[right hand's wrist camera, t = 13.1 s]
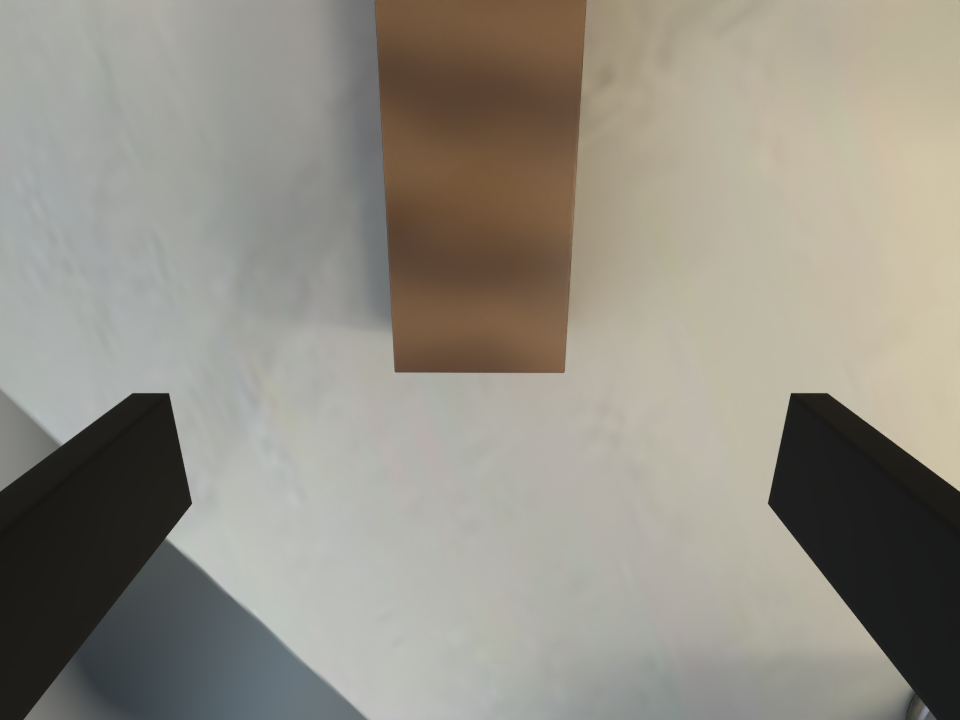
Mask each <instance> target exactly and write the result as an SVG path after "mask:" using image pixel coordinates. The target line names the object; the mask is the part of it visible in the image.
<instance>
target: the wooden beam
mask: <svg viewBox="0 0 960 720" xmlns="http://www.w3.org/2000/svg"><path fill="white" fill-rule="evenodd" d="M375 14H376V33H377V52H378V70H379V89H380V107H381V126H382V144H383V163H384V182H385V200H386V219H387V237H388V256H389V274H390V293H391V312H392V330H393V349H394V367H395V372H452V373H564V372H565V356H566V339H567V322H568V305H569V288H570V271H571V254H572V237H573V220H574V203H575V186H576V169H577V152H578V135H579V118H580V101H581V84H582V67H583V50H584V33H585V16H586V0H375Z"/></svg>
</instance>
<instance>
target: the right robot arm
mask: <svg viewBox="0 0 960 720" xmlns="http://www.w3.org/2000/svg"><path fill="white" fill-rule="evenodd" d="M191 504H192V501H191V496H190V492H189V487H188V482H187V477H186V472H185V468H184V463H183V458H182V453H181V449H180V444H179V439H178V434H177V429H176V425H175V420H174V415H173V410H172V406H171V401H170V396H169V393H132V394H131V395H130V396H128V397H127V398H126V399H124V400H123V401H122V402H120V403H119V404H118V405H116V406H115V407H114V408H112V409H111V410H109V411H108V412H107V413H105V414H104V415H103V416H101V417H100V418H99V419H97V420H96V421H95V422H93V423H92V424H91V425H89V426H88V427H87V428H85V429H84V430H83V431H81V432H80V433H79V434H77V435H76V436H75V437H73V438H72V439H70V440H69V441H68V442H66V443H65V444H64V445H62V446H61V447H60V448H58V449H57V450H56V451H54V452H53V453H52V454H50V455H49V456H48V457H46V458H45V459H44V460H42V461H41V462H40V463H38V464H37V465H36V466H34V467H33V468H31V469H30V470H29V471H27V472H26V473H25V474H23V475H22V476H21V477H19V478H18V479H17V480H15V481H14V482H13V483H11V484H10V485H9V486H7V487H6V488H5V489H3V490H2V491H1V492H0V720H24V718H25V717H26V716H27V714H28V713H29V712H30V711H31V709H32V708H33V707H34V705H35V704H36V703H37V702H38V700H39V699H40V698H41V696H42V695H43V694H44V693H45V691H46V690H47V689H48V688H49V686H50V685H51V684H52V682H53V681H54V680H55V679H56V677H57V676H58V675H59V673H60V672H61V671H62V670H63V668H64V667H65V666H66V664H67V663H68V662H69V661H70V659H71V658H72V657H73V655H74V654H75V653H76V652H77V650H78V649H79V648H80V647H81V645H82V644H83V643H84V641H85V640H86V639H87V637H88V636H89V635H90V634H91V632H92V631H93V630H94V629H95V627H96V626H97V625H98V623H99V622H100V621H101V620H102V618H103V617H104V616H105V615H106V613H107V612H108V611H109V609H110V608H111V607H112V606H113V604H114V603H115V602H116V600H117V599H118V598H119V597H120V595H121V594H122V593H123V591H124V590H125V589H126V588H127V586H128V585H129V584H130V582H131V581H132V580H133V579H134V577H135V576H136V575H137V574H138V572H139V571H140V570H141V568H142V567H143V566H144V565H145V563H146V562H147V561H148V559H149V558H150V557H151V556H152V554H153V553H154V552H155V550H156V549H157V548H158V547H159V545H160V544H161V543H162V542H163V540H164V539H165V538H166V536H167V535H168V534H169V533H170V531H171V530H172V529H173V527H174V526H175V525H176V524H177V522H178V521H179V520H180V519H181V517H182V516H183V515H184V513H185V512H186V511H187V510H188V508H189V507H190V506H191ZM768 504H769V506H770V507H771V508H772V510H773V511H774V512H775V513H776V515H777V516H778V517H779V519H780V520H781V521H782V522H783V524H784V525H785V526H786V527H787V529H788V530H789V531H790V533H791V534H792V535H793V536H794V538H795V539H796V540H797V542H798V543H799V544H800V545H801V547H802V548H803V549H804V551H805V552H806V553H807V554H808V556H809V557H810V558H811V559H812V561H813V562H814V563H815V565H816V566H817V567H818V568H819V570H820V571H821V572H822V574H823V575H824V576H825V577H826V579H827V580H828V581H829V583H830V584H831V585H832V586H833V588H834V589H835V590H836V591H837V593H838V594H839V595H840V597H841V598H842V599H843V600H844V602H845V603H846V604H847V606H848V607H849V608H850V609H851V611H852V612H853V613H854V615H855V616H856V617H857V618H858V620H859V621H860V622H861V624H862V625H863V626H864V627H865V629H866V630H867V631H868V632H869V634H870V635H871V636H872V638H873V639H874V640H875V641H876V643H877V644H878V645H879V647H880V648H881V649H882V650H883V652H884V653H885V654H886V656H887V657H888V658H889V659H890V661H891V662H892V663H893V664H894V666H895V667H896V668H897V670H898V671H899V672H900V673H901V675H902V676H903V677H904V679H905V680H906V681H907V682H908V684H909V685H910V686H911V688H912V689H913V690H914V691H915V693H916V695H915V696H914V698H913V700H912V702H911V704H910V706H909V709H908V712H907V717H906V720H960V492H959V491H958V490H957V489H955V488H954V487H953V486H951V485H950V484H949V483H947V482H946V481H945V480H943V479H942V478H941V477H939V476H938V475H937V474H935V473H934V472H933V471H931V470H930V469H929V468H927V467H926V466H924V465H923V464H922V463H920V462H919V461H918V460H916V459H915V458H914V457H912V456H911V455H910V454H908V453H907V452H906V451H904V450H903V449H902V448H900V447H899V446H898V445H896V444H895V443H894V442H892V441H891V440H890V439H888V438H887V437H885V436H884V435H883V434H881V433H880V432H879V431H877V430H876V429H875V428H873V427H872V426H871V425H869V424H868V423H867V422H865V421H864V420H863V419H861V418H860V417H859V416H857V415H856V414H855V413H853V412H852V411H851V410H849V409H848V408H846V407H845V406H844V405H842V404H841V403H840V402H838V401H837V400H836V399H834V398H833V397H832V396H830V395H829V394H828V393H791V396H790V401H789V406H788V410H787V415H786V420H785V425H784V429H783V434H782V439H781V444H780V449H779V453H778V458H777V463H776V468H775V472H774V477H773V482H772V487H771V492H770V496H769V501H768Z"/></svg>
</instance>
